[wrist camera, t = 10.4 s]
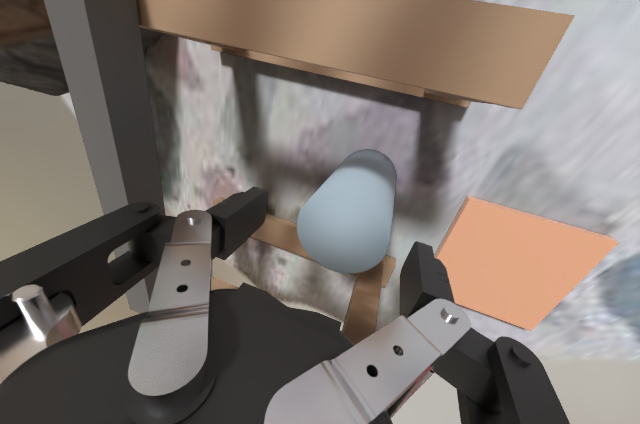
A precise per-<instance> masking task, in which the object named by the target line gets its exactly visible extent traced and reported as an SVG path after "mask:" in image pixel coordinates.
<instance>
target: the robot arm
mask: <svg viewBox="0 0 640 424" xmlns="http://www.w3.org/2000/svg"><path fill="white" fill-rule="evenodd" d="M267 202H268V192H267V191H266V190H263V189H260V188H257V187H252V188H251V189H249V190H248V191H246V192H241V193H236V194H233V195H231V196H230V197H228V198H227V199H225V200H223V201H222V202H220V203H218V204H216V205H215V206H213V207H211V208H210V209H208V210H206V211H201V210H189V211H185V212H182V213H181V214H179V215H178V216H177V217H172V216H165V215H161V213H160V207H159V206H158V205H156V204H154V203H150V202H137V203H132V204H129V205H126V206H124V207H122V208H119V209H117V210H115V211H113V212H110V213H108V214H106V215H104V216H101V217H99V218H97V219H95V220H92V221H90V222H88V223H86V224H84V225H81V226H79V227H77V228H75V229H72V230H70V231H68V232H66V233H63V234H61V235H59V236H57V237H54V238H52V239H50V240H48V241H45V242H43V243H41V244H39V245H36V246H35V247H32V248H30V249H28V250H25V251H23V252H21V253H19V254H17V255H14V256H12V257H10V258H7V259H5V260H3V261H1V262H0V424H393V423H392V421H391V417H393V416H394V414H395V413H396V412H397V411H398V410H399V409H400V408H401V406H402V405H403V404H404V403H405V402H406V401H407V400H408V399H409V398H410V397H411V396H412V395H413V394H414V393H415V392H416V391H417V390H418V389H419V388H420V387H421V386H422V385H423V384H424V383H425V382H426V380H427V379H429V377H430V376H431V375H432V374H433V373H434V372H435V373H436V374H438V375H439V376H440V377H442V378H443V379H444V380H446V381H447V382H448V383H450V384H451V385H452V386H454V387H455V388H457V394H458V402H459V410H460V418H461V424H570V423H569V421H568V419H567V417H566V414H565V412H564V410H563V408H562V406H561V403H560V401H559V399H558V397H557V395H556V393H555V391H554V388H553V386H552V384H551V382H550V380H549V378H548V375H547V373H546V371H545V369H544V367H543V365H542V363H541V362H540V360H539V359H538V358H537V357H536V355H535V354H534V353H533V352H532V351H531V350H529V349H528V348H527V347H526V346H524V345H523V344H521V343H520V342H518V341H516V340H514V339H512V338H509V337H499V338H498V339H497V340H496V341H495V342H493V341H491V340H490V339H488V338H486V337H485V336H483V335H482V334H480V333H478V332H477V331H475V330H474V329H472V328H471V327H470V326H471V323H470V320H469V318H468V316H467V315H466V313H465V312H464V311H463V310H462V309H461V308H460V307H458V306H457V305H456V304H455V301H454V297H453V293H452V289H451V285H450V284H449V283H450V281H449V277H448V274H447V270H446V267H445V266H444V265H443V263H442V262H441V261H440V260H439V259H436V258H434V254H433V249H432V246H429V245H426V244H423V243H420V242H417V241H416V242H415V243H414V244H413V246H412V248H411V250H410V252H409V254H408V256H407V258H406V260H405V262H404V264H403V267H402V270H401V274H400V316H399V317H398V318H396V319H395V320H393V321H391V322H390V323H388V324H387V325H385V326H384V327H382V328H381V329H379V330H378V331H376V332H375V333H373V334H372V335H370V336H368V337H367V338H365V339H364V340H362V341H361V342H359V343H358V344H356V345H354V344H353V343H352V342H351V341H350V340H349V339H348V338H347V337H346V336H345V335H344V334H343V333H341V332H340V331H339V330H340V326H341V322H339V321H337V320H334V319H332V318H329V317H327V316H324V315H322V314H320V313H317V312H313V311H307V310H301V309H295V308H290V307H287V306H285V305H284V304H283V303H281V302H280V301H278V300H277V299H276V298H274V297H273V296H272V295H270V294H269V293H267V292H266V291H263V290H261V289H258V288H256V287H254V286H251V285H249V284H246V283H243V284H242V285H241V286H240V287H239V288H238V289H216V290H212V260H213V259H214V258H215V257H217V258H220V259H222V260H226V259H227V258H228V257H229V256H230V255H231V254H232V253H233V252H234V251H235V250H236V249H237V248H239V247H240V246H241V245H242V244H243V243H244V242H245V241H246V240H247V239H248V238H249V237H250V236H251V235H252V234H253V233H254V232H256V231H257V230H258V229H259V228H260V227H261V226H262V224H263V223H264V221H265V218H266V211H267ZM125 243H128V247H129V251H127V252H126V253H124V254H122V255H121V256H119V257H118V258H116V259H115V260H113V261H111V262H110V263H108V262H107V261H108V257H109V255H110V253H111V252H112V251H113V250H115V249H116V248H118V247H120V246H122V245H123V244H125ZM158 267H159V270H158V274H157V277H156V281H155V285H154V289H153V293H152V297H151V301H150V304H149V308H148V311H147V312H144V313H141V314H138V315H135V316H132V317H129V318H126V319H123V320H120V321H117V322H113V323H110V324H107V325H105V326H101V327H99V328H95V329H93V330H89V331H86V332H83V333H80V334H78V333H79V332H80V330H81V327H82V326H83V325H85V324H86V323H87V322H88V321H90V320H91V319H92V318H93V317H95V316H96V315H97V314H99V313H100V312H101V311H103V310H104V309H105V308H106V307H108V306H109V305H110V304H111V303H113V302H114V301H115V300H117V299H118V298H119V297H120V296H122V295H123V294H124V293H126V292H127V291H128V290H129V289H131V288H132V287H133V286H135V285H136V284H137V283H138V282H140V281H141V280H142V279H144V278H145V277H146V276H147V275H149V274H150V273H151V272H152V271H154V270H155V269H156V268H158Z"/></svg>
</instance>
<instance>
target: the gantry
mask: <svg viewBox="0 0 640 424" xmlns="http://www.w3.org/2000/svg"><path fill="white" fill-rule="evenodd" d="M136 3H137V10H138V18H139V25H140V27H141V28H145V29H149V30H153V31H157V32H161V33H165V34H169V35H173V36H177V37H181V38H185V39H189V40H193V41H197V42H201V43H205V44H209V45H211V50H215V51H219V52H224V53H228V54H233V55H237V56H241V57H246V58H250V59H255V60H259V61H264V62H268V63H272V64H277V65H281V66H286V67H290V68H294V69H299V70H303V71H308V72H312V73H317V74H321V75H325V76H330V77H334V78H339V79H343V80H348V81H352V82H356V83H361V84H365V85H370V86H374V87H378V88H383V89H387V90H392V91H396V92H401V93H405V94H409V95H414V96H418V97H423V98H427V99H431V100H436V101H440V102H445V103H449V104H454V105H458V106H462V107H468V105H469V103H470V101H472V102H480V103H488V104H496V105H501V106H505V107H510V108H517V109H522V108H523V107H524V105H525V103H526V101H527V99H528V98H529V96H530V94H531V92H532V91H533V89H534V87H535V85H536V83H537V82H538V80H539V78H540V76H541V75H542V73H543V71H544V69H545V67H546V66H547V64H548V62H549V60H550V59H551V57H552V55H553V53H554V52H555V50H556V48H557V46H558V44H559V43H560V41H561V39H562V37H563V36H564V34H565V32H566V30H567V28H568V27H569V25H570V23H571V21H572V20H573V18H574V15H567V14H561V13H554V12H547V11H541V10H534V9H527V8H521V7H514V6H507V5H501V4H494V3H487V2H481V1H474V0H136ZM223 200H225V199H224V198H221V197H220V198H218V199H216V200H214V206H215V205H216V204H218V203H220V202H222V201H223ZM250 237H253V238H255V239H258V240H261V241H263V242H266V243H269V244H271V245H274V246H277V247H279V248H282V249H285V250H287V251H290V252H293V253H295V254H298V255H301V256H303V257H306V258H309V259H311V260H313V259H312V258H311V257H310V256H309V255H308V254H307V252H306V251H305V250H304V248H303V246H302V245H301V242H300V240H299V237H298V233H297V224H296V223H293V222H290V221H287V220H284V219H281V218H278V217H276V216H273V215H270V214H267V213H266V218H265V221H264V223H263V224H262V226H261V227H260V228H259V229H258V230H257V231H256V232H254V233H253V234H252V235H251V236H250ZM314 261H315V260H314ZM395 262H396V259H395V258H393V257H390V256H387V255H385V256H384V258H383V259H382V260H381V261H380V262H379V263H378V264H377V265H376V266H374V267H373V268H371V269H369V270H366V271H363V272H359V273H349V274H352V275H354V276H357V277H356V281H355V284H354V288H353V292H352V296H351V299H350V303H349V307H348V310H347V314H346V318H345V321H344V325H343V329H342V331H340V330H339V331H340V332H341V333H343V334H344V335H345V336H346V337H347V338H348V339H349V340H350V341H351V342H352V343H353V344H354V345H356V344H358V343H359V342H361V341H362V340H364V339H365V338H367V337H368V336H370V335H372V334H373V333H375V329H376V321H377V313H378V305H379V298H380V290H381V286H384V287H385V286H386V284H387V282H388V280H389V277H390V275H391V273H392V271H393V269H394V267H395ZM216 289H238V287H235V286H233V285H231V284H228V283H226V282H223V281H221V280H219V279H216V278H214V277H212V290H216Z"/></svg>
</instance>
